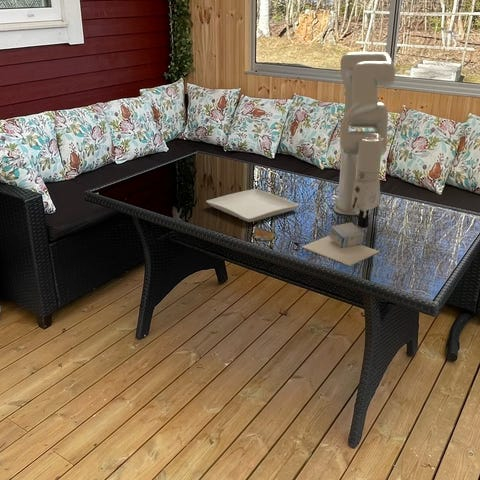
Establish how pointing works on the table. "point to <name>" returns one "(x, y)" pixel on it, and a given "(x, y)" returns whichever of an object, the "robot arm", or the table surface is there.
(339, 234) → the medicine box
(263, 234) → the shard
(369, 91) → the robot arm
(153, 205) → the table surface
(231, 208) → the square plate
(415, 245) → the table surface
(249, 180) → the table surface
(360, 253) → the mat
